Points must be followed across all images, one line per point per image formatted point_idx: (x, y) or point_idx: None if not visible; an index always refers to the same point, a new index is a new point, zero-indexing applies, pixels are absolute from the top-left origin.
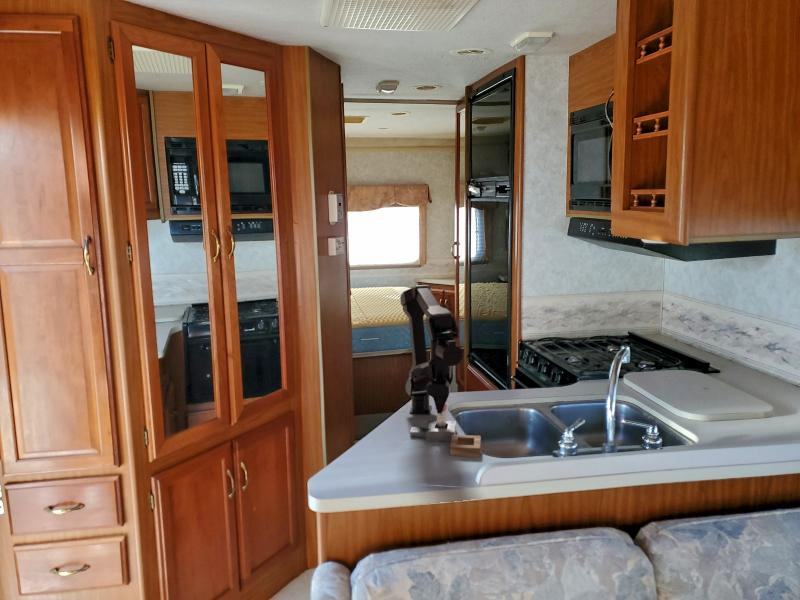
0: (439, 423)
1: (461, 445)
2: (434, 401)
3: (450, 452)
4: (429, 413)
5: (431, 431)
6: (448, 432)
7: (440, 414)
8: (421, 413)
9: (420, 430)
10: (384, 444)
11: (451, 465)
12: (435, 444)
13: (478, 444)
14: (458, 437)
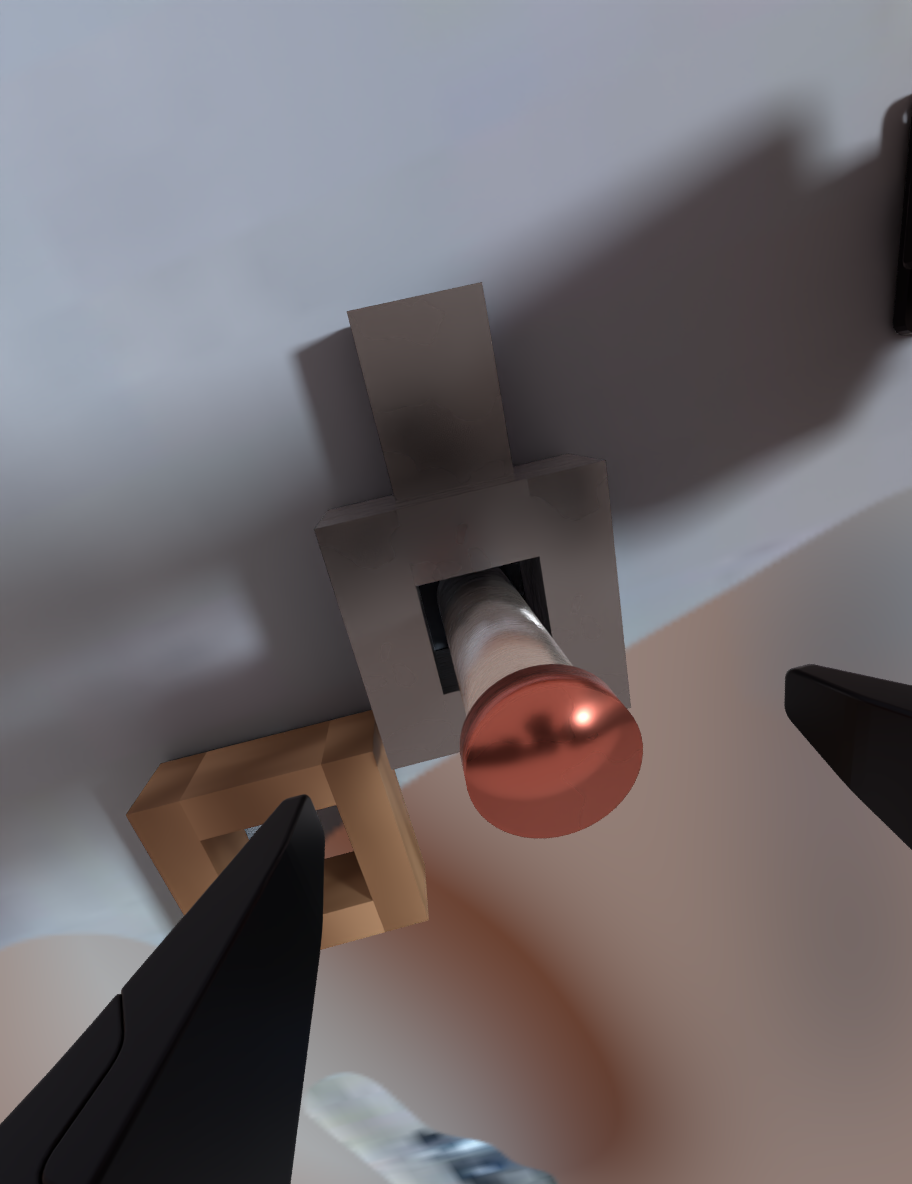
0: (452, 642)
1: (200, 873)
2: (37, 1085)
3: (149, 783)
4: (906, 333)
5: (331, 581)
6: (377, 726)
7: (467, 712)
8: (908, 243)
9: (423, 415)
10: (55, 64)
11: (33, 810)
12: (307, 598)
13: None
14: (338, 808)
